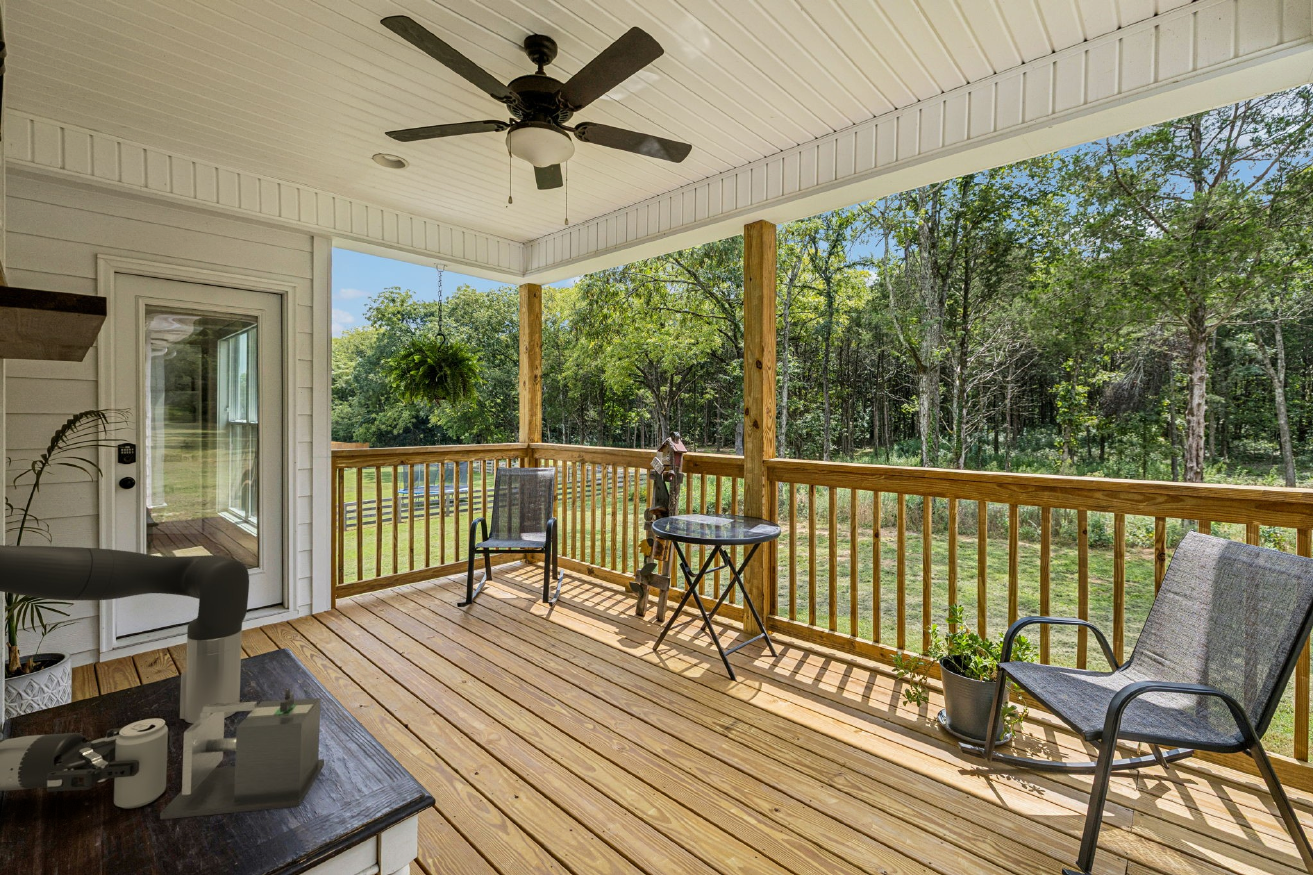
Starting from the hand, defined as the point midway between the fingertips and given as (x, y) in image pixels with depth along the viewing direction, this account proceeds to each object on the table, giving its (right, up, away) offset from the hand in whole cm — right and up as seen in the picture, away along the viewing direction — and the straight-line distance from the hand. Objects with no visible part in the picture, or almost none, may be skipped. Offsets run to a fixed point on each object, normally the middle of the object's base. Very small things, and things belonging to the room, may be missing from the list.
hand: (155, 752), depth 95 cm
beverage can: (-2, -8, 0) cm, 8 cm away
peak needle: (+19, +6, +4) cm, 20 cm away
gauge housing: (+13, -8, +3) cm, 16 cm away
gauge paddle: (+10, -5, +2) cm, 12 cm away
